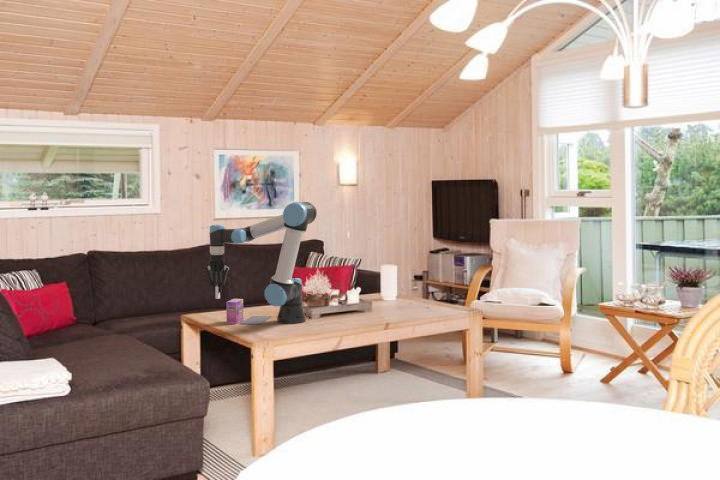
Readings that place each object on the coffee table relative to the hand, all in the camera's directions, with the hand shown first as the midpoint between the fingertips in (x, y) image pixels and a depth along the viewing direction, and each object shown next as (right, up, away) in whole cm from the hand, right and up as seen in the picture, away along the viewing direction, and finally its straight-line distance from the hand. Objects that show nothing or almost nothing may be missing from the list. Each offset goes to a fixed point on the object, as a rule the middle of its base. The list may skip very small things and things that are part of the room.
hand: (217, 298), depth 389 cm
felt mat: (+20, -12, +4) cm, 23 cm away
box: (+9, -13, -1) cm, 16 cm away
